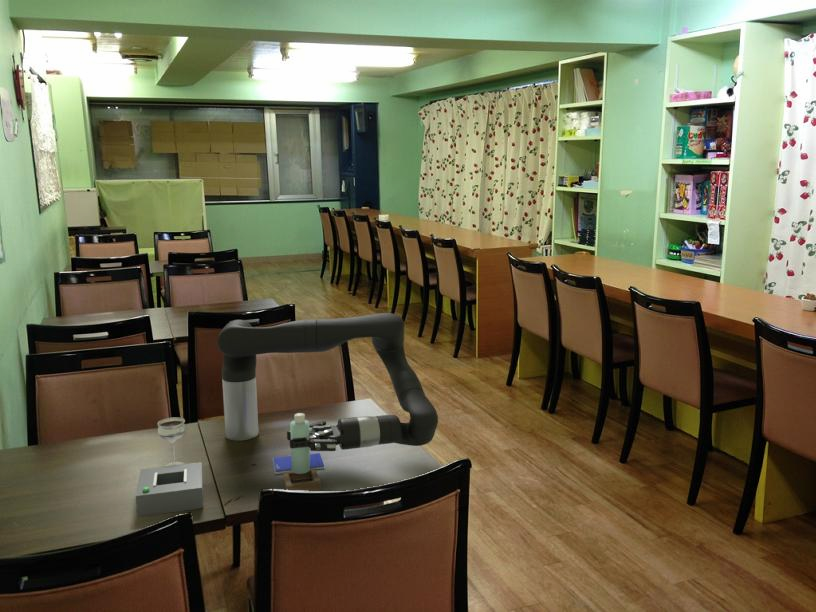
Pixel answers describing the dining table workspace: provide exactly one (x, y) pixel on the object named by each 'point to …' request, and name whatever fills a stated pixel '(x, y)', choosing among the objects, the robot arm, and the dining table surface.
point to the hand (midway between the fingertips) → (288, 439)
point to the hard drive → (286, 464)
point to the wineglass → (171, 433)
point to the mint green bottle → (302, 455)
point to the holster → (309, 485)
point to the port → (170, 489)
